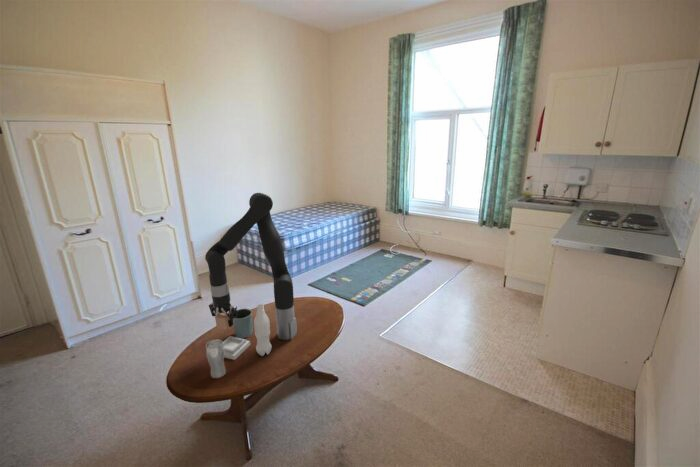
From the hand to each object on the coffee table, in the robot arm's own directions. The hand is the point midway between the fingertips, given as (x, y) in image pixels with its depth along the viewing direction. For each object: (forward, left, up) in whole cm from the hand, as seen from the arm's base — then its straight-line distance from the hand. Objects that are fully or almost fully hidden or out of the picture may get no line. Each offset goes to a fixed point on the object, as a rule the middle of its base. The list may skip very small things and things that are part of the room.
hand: (225, 324), depth 148 cm
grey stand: (-1, -2, -15) cm, 15 cm away
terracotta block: (0, 0, -1) cm, 1 cm away
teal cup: (+2, -15, -15) cm, 21 cm away
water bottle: (-17, -5, -15) cm, 23 cm away
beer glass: (-5, +14, -15) cm, 21 cm away
